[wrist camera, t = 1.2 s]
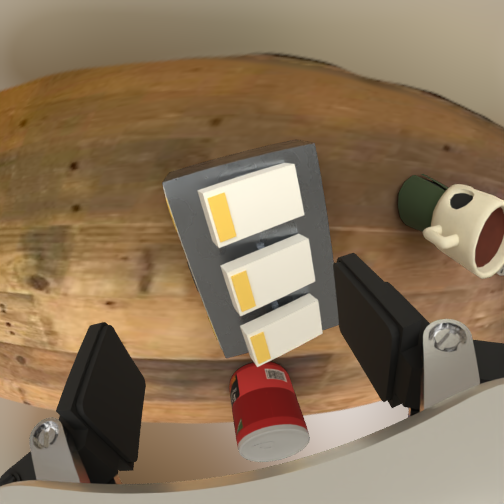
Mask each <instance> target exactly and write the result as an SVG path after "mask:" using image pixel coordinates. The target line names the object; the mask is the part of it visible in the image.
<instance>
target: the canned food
mask: <svg viewBox="0 0 504 504" xmlns="http://www.w3.org/2000/svg"><path fill="white" fill-rule="evenodd" d="M229 389H230V397H231V405H232V412H233V419H234V426H235V433H236V440H237V445H238V449H239V453H240V455H241V456H242V457H243V458H245V459H248V460H251V461H257V462H258V461H259V462H268V461H276V460H281V459H284V458H287V457H290V456H292V455H294V454H296V453H298V452H299V451H301V450H302V449H304V448H305V447H306V445H307V444H308V443H309V439H310V437H309V433H308V430H307V426H306V423H305V421H304V418H303V415H302V412H301V409H300V406H299V403H298V401H297V398H296V395H295V392H294V389H293V386H292V383H291V381H290V378H289V375H288V373H287V372H286V371H285V369H284V368H283V367H281V366H280V365H278V364H276V363H273V362H267V363H265V364H263V365H261V366H259V367H257V366H256V365H255V363H250V364H247V365H245V366H243V367H241V368H240V369H238V370H237V371H236V372H235V373H234V374H233V376H232V378H231V381H230V385H229Z"/></svg>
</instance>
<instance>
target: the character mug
mask: <svg viewBox="0 0 504 504" xmlns="http://www.w3.org/2000/svg"><path fill="white" fill-rule="evenodd" d="M421 175H423V176H425V177H427V178H429V179H431V180H432V181H433V182H432V181H429V180H425V179H423V178H420V177H418V176H416V175H413V176H411V177H410V178H409V179H408V180H406V181H405V182H404V184H403V186H402V188H401V190H400V192H399V198H398V209H399V214H400V218H401V219H402V221H403V222H404V223H405V225H407V226H409V227H412V228H414V229H417V230H419V231H422V233H423V236H424V237H425V239H427V240H428V241H430V242H431V243H433V244H434V245H435V246H436V247H437V248H438V249H439V250H440V251H442V252H443V253H444V254H446V255H447V256H449V257H450V258H452V259H453V260H455V261H456V262H458V263H459V264H461V265H462V266H463V267H465V268H466V269H468V270H469V271H470V272H472V273H473V274H475V275H476V276H478V277H480V278H481V279H484V278H490V277H491V276H493V275H494V274H495V273H497V272H498V271H499V270H500V269H501V267H502V266H503V265H504V201H503V200H501V199H499V198H497V197H495V196H493V195H490V194H487V193H484V192H481V191H478V190H475V189H473V188H472V187H470V186H466V185H461V184H455V185H452V186H451V187H449V188H448V187H446V186H444V185H443V184H441V183H439V182H438V181H436V180H434V179H432V178H430V177H428V176H426V175H424V174H421Z"/></svg>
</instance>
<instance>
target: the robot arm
mask: <svg viewBox="0 0 504 504" xmlns="http://www.w3.org/2000/svg"><path fill="white" fill-rule="evenodd" d="M333 271H334V280H335V289H336V298H337V309H338V319H339V327H340V331H341V333H342V335H343V337H344V339H345V340H346V342H347V343H348V345H349V347H350V348H351V350H352V352H353V353H354V355H355V357H356V358H357V360H358V362H359V363H360V365H361V367H362V368H363V370H364V372H365V373H366V375H367V377H368V378H369V380H370V382H371V383H372V385H373V387H374V388H375V390H376V392H377V393H378V395H379V397H380V398H381V400H382V401H383V402H385V401H387V400H388V402H389V404H390V405H391V407H392V408H393V407H396V406H398V405H400V404H402V405H403V406H404V407H408V408H409V413H408V418H407V419H404V420H402V421H400V422H398V423H396V424H394V425H391V426H389V427H386V428H384V429H382V430H379V431H377V432H375V433H372V434H370V435H367V436H365V437H363V438H360V439H357V440H355V441H353V442H350V443H347V444H344V445H341V446H338V447H336V448H333V449H330V450H327V451H324V452H321V453H317V454H314V455H311V456H308V457H304V458H301V459H298V460H294V461H290V462H287V463H282V464H279V465H275V466H270V467H266V468H262V469H258V470H253V471H248V472H243V473H237V474H232V475H226V476H220V477H214V478H206V479H199V480H190V481H180V482H168V483H153V484H122V482H121V480H120V479H119V476H118V475H117V474H118V470H119V471H127V470H128V471H129V470H133V467H134V462H136V461H137V458H138V448H139V437H140V428H141V419H142V410H143V402H144V394H145V387H146V384H145V380H144V377H143V375H142V374H141V372H140V371H139V369H138V368H137V366H136V365H135V363H134V361H133V360H132V358H131V357H130V355H129V353H128V352H127V350H126V349H125V347H124V345H123V344H122V342H121V340H120V338H119V337H118V335H117V333H116V332H115V330H114V328H113V327H112V326H111V325H108V324H107V323H105V322H103V323H98V324H94V325H91V326H90V327H89V329H88V331H87V333H86V335H85V338H84V340H83V342H82V345H81V347H80V349H79V352H78V354H77V357H76V359H75V362H74V364H73V367H72V369H71V372H70V374H69V377H68V379H67V382H66V385H65V387H64V390H63V393H62V395H61V398H60V401H59V404H58V407H57V410H56V412H57V413H58V414H59V415H60V417H59V420H58V419H56V418H46V419H44V420H42V421H41V422H39V423H38V424H37V425H36V426H35V427H34V429H33V430H32V432H31V435H30V449H31V452H29V453H28V454H27V455H26V456H24V457H23V458H22V459H21V460H20V461H18V462H17V463H16V464H15V465H13V466H12V467H11V468H10V469H9V470H7V471H6V472H5V473H4V474H3V475H2V476H1V478H0V504H504V344H503V343H495V342H486V341H479V340H473V339H472V335H471V332H470V330H469V329H468V328H467V327H466V326H465V325H464V324H463V323H461V322H459V321H456V320H453V319H441V320H437V321H434V322H432V323H431V324H430V323H429V322H428V321H427V320H426V319H425V318H424V317H423V316H422V315H421V314H420V313H419V312H418V311H417V310H416V309H415V308H414V307H413V306H412V305H411V304H410V303H409V302H408V301H407V300H406V299H405V298H404V297H403V296H402V295H401V294H400V293H399V292H398V291H397V290H396V289H395V288H394V287H393V286H392V285H391V284H390V283H388V282H384V281H383V280H382V279H381V278H380V277H379V276H378V275H377V274H376V273H375V272H374V271H373V270H371V269H370V268H369V267H368V266H367V265H366V264H365V263H364V262H363V261H362V260H361V259H360V258H359V257H358V256H357V255H356V254H354V253H352V254H348V255H345V256H342V257H339V258H338V259H337V263H334V264H333ZM497 274H498V275H500V276H504V265H503V266H502V267H501V269H500V270H499V271H498V272H497Z"/></svg>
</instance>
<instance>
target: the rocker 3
mask: <svg viewBox="0 0 504 504" xmlns="http://www.w3.org/2000/svg"><path fill="white" fill-rule="evenodd" d="M240 328H241V330H242V333H243V336H244V339H245V342H246V345H247V348H248V351H249V354H250V357H251V359H252V360H253V362H254V363H255V365H256V366H257V367H259V366H261V365H263V364H265V363H267V362H269V361H271V360H273V359H275V358H277V357H279V356H281V355H283V354H285V353H287V352H289V351H291V350H293V349H295V348H296V347H298V346H300V345H302V344H304V343H306V342H308V341H310V340H312V339H313V338H315V337H317V336H319V335H321V334H322V333H323V332H322V325H321V317H320V310H319V303H318V300H317V299H316V298H315V297H313V296H312V295H311V294H310V293H308V294H306V295H304V296H302V297H300V298H298V299H296V300H294V301H292V302H290V303H288V304H286V305H284V306H282V307H280V308H277V309H275V310H273V311H271V312H269V313H267V314H265V315H263V316H260V317H258V318H256V319H254V320H252V321H250V322H247V323H245V324H243V325H241V326H240Z"/></svg>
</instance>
